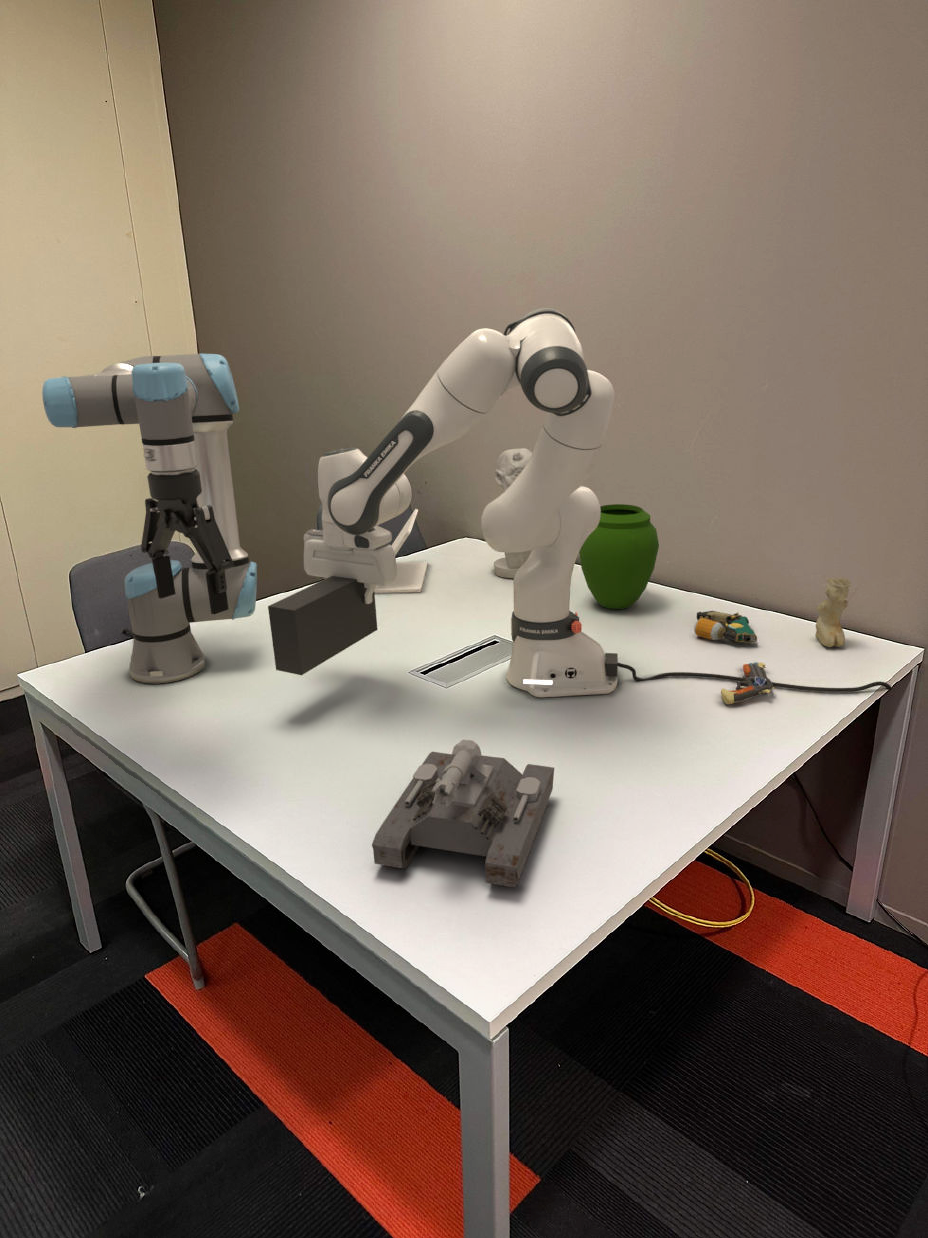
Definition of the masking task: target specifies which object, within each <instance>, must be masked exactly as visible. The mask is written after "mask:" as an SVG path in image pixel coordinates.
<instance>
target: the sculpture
mask: <svg viewBox="0 0 928 1238" xmlns="http://www.w3.org/2000/svg"><path fill="white" fill-rule="evenodd" d="M826 581H827V586H826V588H825V590H824V593H825V595H826V596H827V598H826V600H824V601H822V602H821V603H820V604H819V605H818V606H817V609H816V610H817V612H818V614H819V616H818V617H817V619H816V623H815V630H816V631H815V634H814V635H815V639H817V640H819V642H820V643H821V644H822V645H823V646H825V647H827V648H832V647H834V646H835V647H843V646H844V645H845V643H846V642H845V641H846V636H845V632H844V630H843V626H842V624H841V622H840V621H841V617H842V615H843V612H844V610H845V609H846V608H847V606H848V604H849V603H848V602H849V601H847V598H848V597H849V592H850V586H851V585H852V582H850V580H848V579H847V578H845V577H841V576H840V577H835V578H831V577H827V578H826Z"/></svg>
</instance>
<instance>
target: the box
mask: <svg viewBox="0 0 928 1238" xmlns="http://www.w3.org/2000/svg"><path fill="white" fill-rule="evenodd" d="M366 590H367V588H365V586H364V583H361V582H357V579H351V578H344V577H337V576H331V577H329V578H326V579H322V580H320V581H318V582H316V583H314V584H312V585H310V586H308V587H306V588H304V589H301V590H299V591H297V592H295V593H293V594H290V595H289V596H287V597H284V598H282V599H279V600H278V601H276V602H274V603H271V604H269V605H267V609H268V611H267V612H268V618H269V625H270V635H271V641H272V649H273V657H274V666H275V671H279V672H284V673H288V674H292V675H297V676H303V675H304V674H306V673H308V672H310V671H312V670H314V669H315V668H316V667H318V666H320V665H321V664H323V663H325V662H326V661H328V660H330V659H332V658H333V657H335V656H336V655H339V654H340V653H342V652H343V651H345V650H347V649H348V648H350V647H351V646H353V645H355V644H356V643H358V642H360V641H361V640H363V639H365V638H366V637H368V636H369V635H371V634H373V633H375V632H377V631H378V619H377V618H378V617H377V605H376V595H375V594H376V593H375V592H373V593H372V600H373V601H372V603H370V604H364V603H362V599H361V595H363V594H365V592H366Z"/></svg>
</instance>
